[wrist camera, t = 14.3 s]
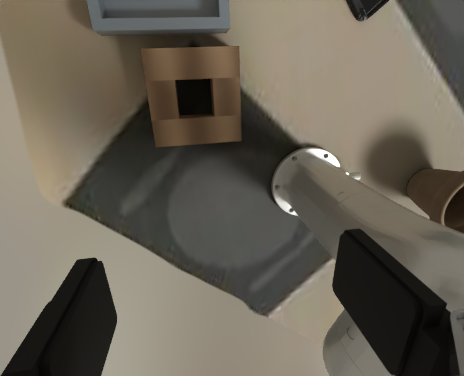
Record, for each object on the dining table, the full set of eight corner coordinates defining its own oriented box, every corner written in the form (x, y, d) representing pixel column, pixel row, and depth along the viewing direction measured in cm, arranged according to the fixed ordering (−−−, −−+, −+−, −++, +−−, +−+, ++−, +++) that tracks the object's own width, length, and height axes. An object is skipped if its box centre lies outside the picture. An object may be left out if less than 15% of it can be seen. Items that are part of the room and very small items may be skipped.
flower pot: (460, 170, 50) (521, 190, 41) (421, 218, 53) (470, 246, 44) (422, 145, 47) (479, 161, 38) (383, 197, 50) (427, 224, 41)
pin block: (233, 49, 36) (239, 46, 32) (236, 135, 41) (241, 140, 37) (145, 51, 35) (140, 48, 31) (158, 141, 39) (155, 147, 36)
